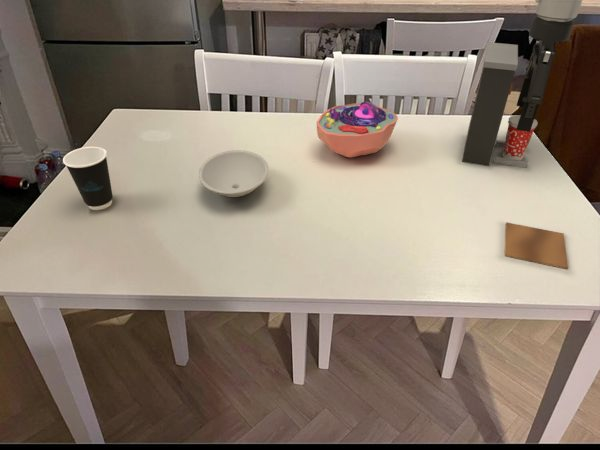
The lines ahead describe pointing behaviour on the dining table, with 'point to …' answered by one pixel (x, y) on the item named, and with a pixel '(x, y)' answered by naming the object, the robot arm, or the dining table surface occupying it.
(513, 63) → the coffee machine
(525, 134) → the beverage cup
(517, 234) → the cork coaster
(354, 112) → the cell model
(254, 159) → the dish
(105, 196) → the dixie cup
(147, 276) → the dining table surface
